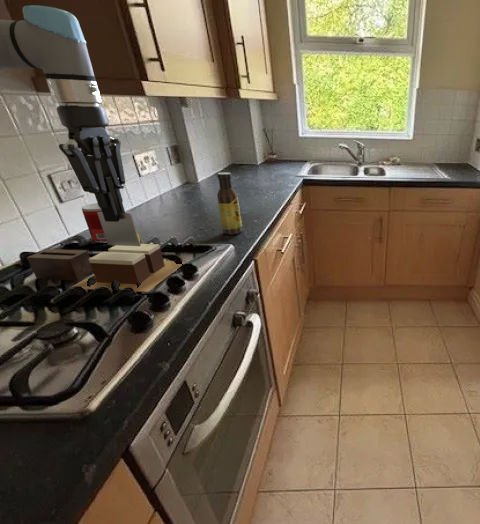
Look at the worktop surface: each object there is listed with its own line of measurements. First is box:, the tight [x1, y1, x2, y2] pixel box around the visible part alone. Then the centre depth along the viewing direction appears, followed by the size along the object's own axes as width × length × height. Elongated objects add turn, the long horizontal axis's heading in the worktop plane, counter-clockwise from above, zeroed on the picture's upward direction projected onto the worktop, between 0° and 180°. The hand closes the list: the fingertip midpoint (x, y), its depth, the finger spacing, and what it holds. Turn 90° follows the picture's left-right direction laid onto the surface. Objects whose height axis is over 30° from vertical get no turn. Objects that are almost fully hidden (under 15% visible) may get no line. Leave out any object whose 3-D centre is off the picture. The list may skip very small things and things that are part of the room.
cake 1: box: [89, 251, 151, 284], centre depth 77 cm, size 10×4×6 cm, turn 88°
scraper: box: [97, 176, 141, 246], centre depth 75 cm, size 8×2×16 cm, turn 87°
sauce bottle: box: [216, 171, 243, 236], centre depth 109 cm, size 6×6×20 cm
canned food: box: [81, 202, 107, 242], centre depth 102 cm, size 8×8×11 cm
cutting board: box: [69, 260, 187, 293], centre depth 81 cm, size 18×16×2 cm
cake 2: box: [107, 243, 165, 273], centre depth 82 cm, size 10×4×6 cm, turn 87°
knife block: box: [26, 248, 93, 282], centre depth 79 cm, size 10×5×7 cm, turn 87°
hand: (116, 219), depth 75 cm, fingers closed on scraper, 2 cm apart
